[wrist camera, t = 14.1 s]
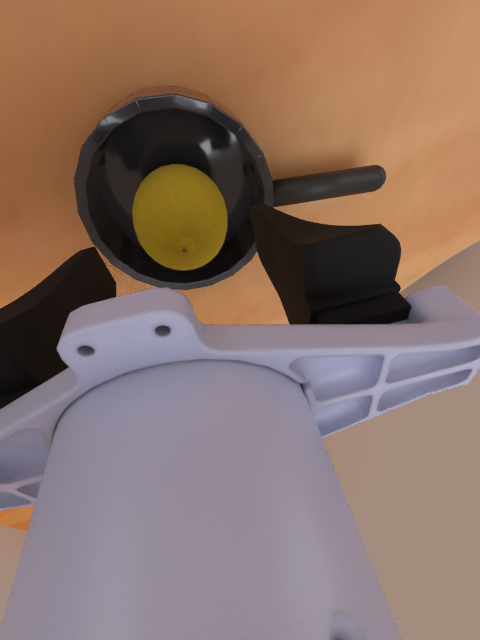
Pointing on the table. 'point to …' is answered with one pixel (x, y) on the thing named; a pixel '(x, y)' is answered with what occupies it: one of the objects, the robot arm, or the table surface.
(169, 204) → the lemon
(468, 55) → the table surface
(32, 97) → the table surface
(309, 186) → the pan handle
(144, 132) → the pan
